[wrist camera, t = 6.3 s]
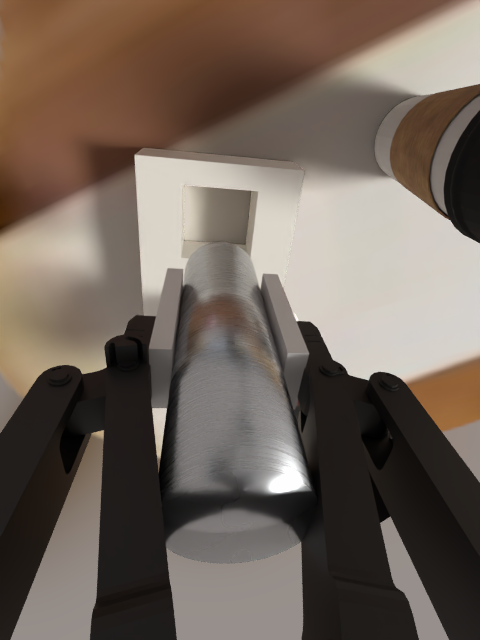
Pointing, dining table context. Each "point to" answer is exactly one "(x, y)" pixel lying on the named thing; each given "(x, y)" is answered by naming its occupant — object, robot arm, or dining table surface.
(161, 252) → the socket block
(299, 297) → the dining table surface
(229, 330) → the pipe
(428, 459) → the robot arm
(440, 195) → the coffee cup
